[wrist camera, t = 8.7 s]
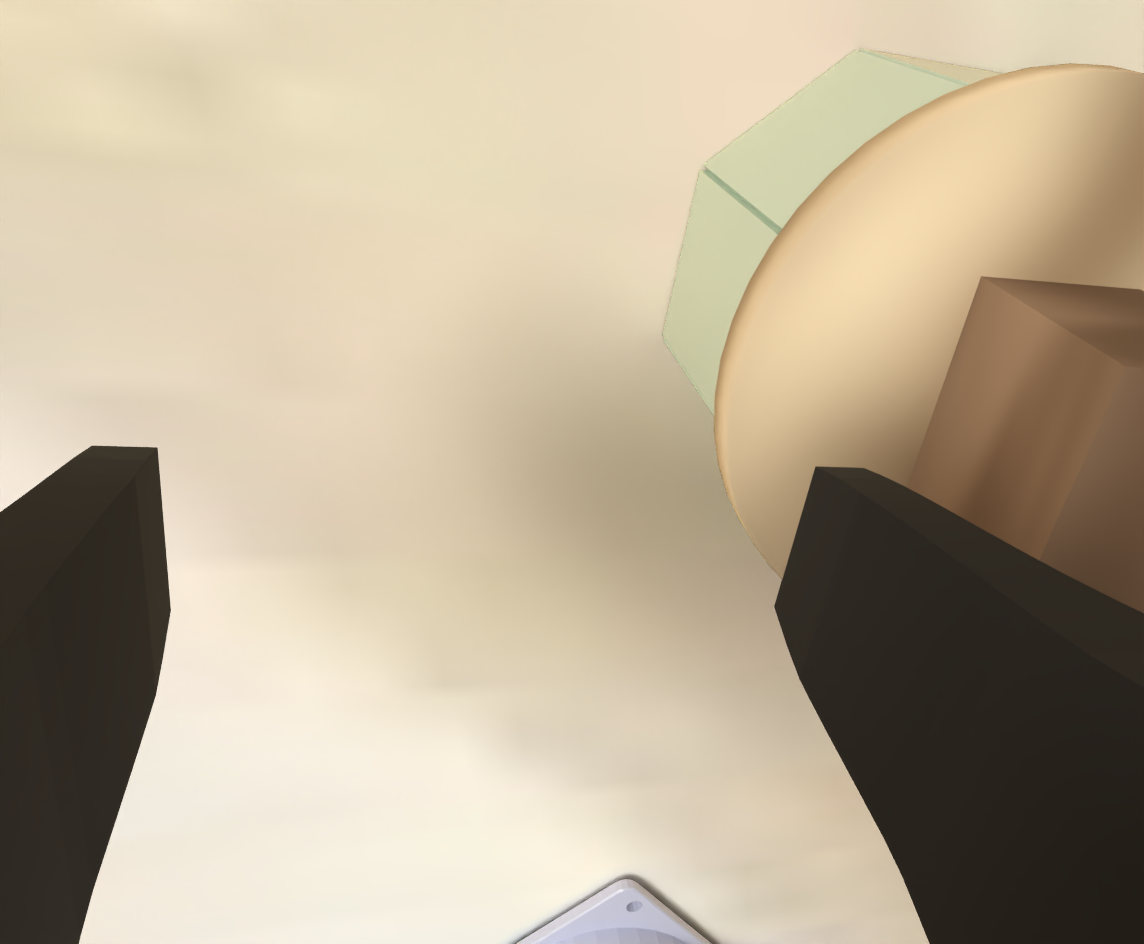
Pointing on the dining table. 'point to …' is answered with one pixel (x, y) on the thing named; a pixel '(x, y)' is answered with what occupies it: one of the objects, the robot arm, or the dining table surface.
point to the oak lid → (961, 326)
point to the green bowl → (782, 188)
